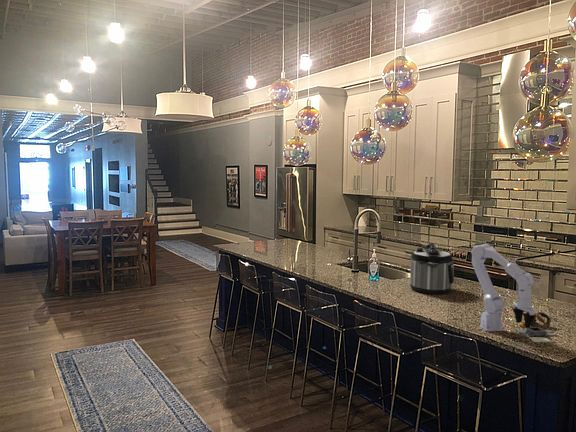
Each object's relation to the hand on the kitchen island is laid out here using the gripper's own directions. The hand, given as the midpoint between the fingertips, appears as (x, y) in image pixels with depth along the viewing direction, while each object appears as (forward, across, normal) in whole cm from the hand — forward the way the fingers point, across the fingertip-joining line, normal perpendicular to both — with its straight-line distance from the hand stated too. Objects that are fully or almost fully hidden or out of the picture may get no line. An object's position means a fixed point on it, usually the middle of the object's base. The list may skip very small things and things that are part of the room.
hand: (523, 325), depth 235 cm
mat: (+6, -5, -5) cm, 10 cm away
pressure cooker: (+6, +92, +11) cm, 93 cm away
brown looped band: (+6, +15, -17) cm, 23 cm away
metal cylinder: (+6, 0, 0) cm, 6 cm away
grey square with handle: (+6, +2, -10) cm, 12 cm away
